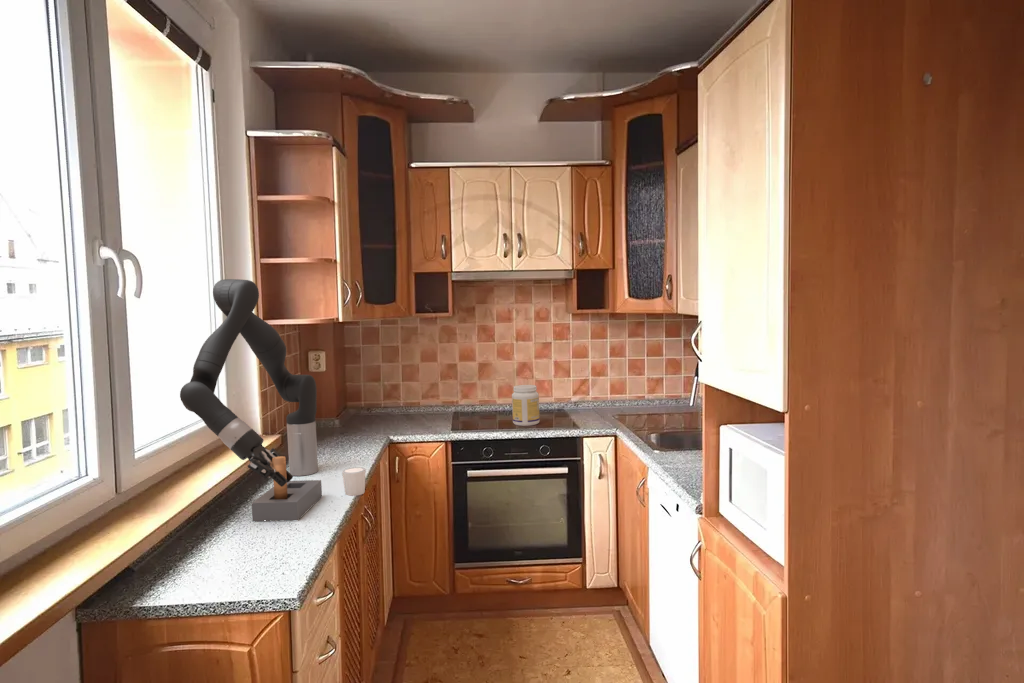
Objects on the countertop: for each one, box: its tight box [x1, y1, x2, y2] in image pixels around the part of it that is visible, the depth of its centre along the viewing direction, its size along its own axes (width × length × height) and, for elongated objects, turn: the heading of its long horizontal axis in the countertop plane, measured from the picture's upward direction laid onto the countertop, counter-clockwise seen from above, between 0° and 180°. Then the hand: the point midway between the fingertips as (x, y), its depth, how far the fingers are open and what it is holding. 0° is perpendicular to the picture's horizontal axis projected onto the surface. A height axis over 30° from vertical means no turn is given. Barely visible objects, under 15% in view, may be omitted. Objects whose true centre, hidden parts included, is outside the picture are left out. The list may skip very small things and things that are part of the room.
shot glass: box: [341, 466, 367, 497], centre depth 190 cm, size 7×7×7 cm
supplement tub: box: [511, 384, 540, 427], centre depth 285 cm, size 12×12×17 cm
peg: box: [272, 455, 288, 500], centre depth 172 cm, size 3×3×12 cm
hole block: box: [251, 479, 323, 522], centre depth 178 cm, size 20×12×5 cm, turn 179°
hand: (287, 481), depth 172 cm, fingers closed on peg, 3 cm apart
